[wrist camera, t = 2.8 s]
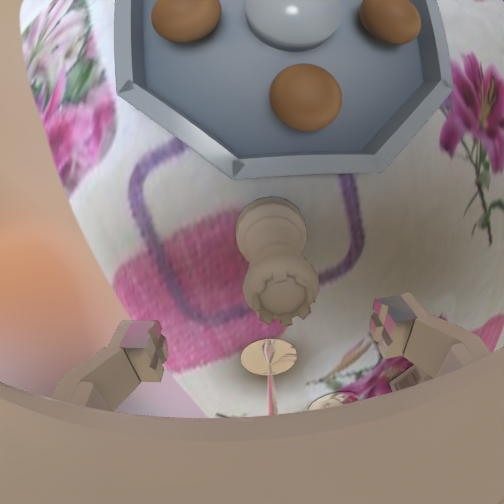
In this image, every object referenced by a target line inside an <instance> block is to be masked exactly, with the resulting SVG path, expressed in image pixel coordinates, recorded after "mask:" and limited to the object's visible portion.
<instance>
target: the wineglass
mask: <svg viewBox="0 0 504 504" xmlns="http://www.w3.org/2000/svg"><path fill="white" fill-rule="evenodd" d="M296 358H297V353H296V350H295V348H294V347H293V346H292V345H291V344H289V343H288V342H286V341H283V340H279V339H263V340H258V341H256V342H254V343H251V344H250V345H248V346H247V347H246V348H245V349H244V350H243V352H242V354H241V362H242V365H243V366H244V367H245V368H246V369H247V370H248V371H250V372H252V373H254V374H258V375H268V415H278V408H277V401H276V393H275V386H274V379H273V375H276V374H280V373H282V372H285V371H287V370H288V369H289V368H291V367H292V366H293V364H294V363H295V362H296Z"/></svg>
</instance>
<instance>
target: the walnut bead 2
mask: <svg viewBox="0 0 504 504" xmlns="http://www.w3.org/2000/svg"><path fill="white" fill-rule="evenodd" d="M269 100H270V105H271V108H272V110H273V112H274V113H275V115H276V116H277V118H278V119H279V120H280V121H281V122H283V123H284V124H285V125H287V126H289V127H290V128H293V129H295V130H299V131H307V132H309V131H316V130H320V129H323V128H325V127H327V126H328V125H330V124H331V123H332V122H333V121H334V120H335V119H336V117H337V116H338V114H339V112H340V110H341V106H342V92H341V89H340V86H339V84H338V82H337V81H336V79H335V78H334V77H333V76H332V75H331V74H330V73H329V72H328V71H326V70H325V69H323V68H321V67H319V66H316V65H313V64H306V63H301V64H294V65H291V66H289V67H287V68H285V69H283V70H282V71H281V72H280V73H278V74H277V76H276V77H275V78H274V80H273V82H272V84H271V87H270V92H269Z"/></svg>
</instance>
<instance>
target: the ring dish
mask: <svg viewBox="0 0 504 504" xmlns="http://www.w3.org/2000/svg"><path fill="white" fill-rule="evenodd" d="M156 1H157V0H115V12H114V56H115V77H116V92H117V95H118V96H120V97H121V98H122V99H124V100H125V101H127V102H128V103H130V104H131V105H133V106H134V107H135V108H137V109H138V110H140V111H141V112H143V113H144V114H145V115H147V116H148V117H150V118H151V119H152V120H154V121H155V122H157V123H158V124H159V125H161V126H162V127H164V128H165V129H166V130H168V131H169V132H170V133H172V134H173V135H174V136H176V137H177V138H179V139H180V140H181V141H183V142H184V143H185V144H187V145H188V146H189V147H191V148H192V149H193V150H195V151H196V152H197V153H199V154H200V155H201V156H203V157H204V158H205V159H206V160H208V161H209V162H210V163H212V164H213V165H214V166H216V167H217V168H218V169H219V170H221V171H222V172H223V173H225V174H226V175H227V176H228V177H230V178H231V179H234V180H237V179H248V178H260V177H274V176H290V175H309V174H339V173H382V172H383V170H384V169H385V168H386V167H387V166H388V165H389V164H390V163H391V162H392V161H393V159H394V158H395V157H396V156H397V155H398V154H399V153H400V152H401V150H402V149H403V148H404V147H405V146H406V145H407V144H408V143H409V141H410V140H411V139H412V138H413V137H414V136H415V135H416V133H417V132H418V131H419V130H420V129H421V128H422V126H423V125H424V124H425V123H426V122H427V121H428V119H429V118H430V117H431V116H432V115H433V114H434V112H435V111H436V110H437V109H438V108H439V106H440V105H441V104H442V103H443V102H444V100H445V99H446V98H447V97H448V96H449V94H450V93H451V92H452V91H453V79H452V71H451V63H450V57H449V51H448V45H447V40H446V35H445V30H444V26H443V22H442V18H441V14H440V10H439V7H438V3H437V0H409V1H410V2H411V3H412V4H413V5H414V6H415V8H416V9H417V11H418V13H419V15H420V18H421V29H420V32H419V34H418V36H417V37H416V38H415V39H414V40H413V41H411V42H409V43H406V44H402V45H393V44H388V43H385V42H382V41H380V40H378V39H377V38H375V37H374V36H372V35H371V34H370V33H369V32H368V31H367V29H366V28H365V27H364V25H363V23H362V21H361V18H360V13H359V12H360V5H361V3H362V1H363V0H219V1H220V4H221V9H222V13H221V18H220V21H219V23H218V25H217V26H216V28H215V29H214V30H213V31H212V32H211V33H210V34H208V35H207V36H206V37H204V38H202V39H200V40H197V41H194V42H190V43H175V42H171V41H168V40H166V39H164V38H163V37H161V36H160V35H159V34H158V33H157V32H156V31H155V29H154V27H153V25H152V21H151V13H152V9H153V7H154V5H155V3H156ZM301 63H306V64H313V65H316V66H319V67H321V68H323V69H325V70H326V71H328V72H329V73H330V74H331V75H332V76H333V77H334V78H335V79H336V81H337V82H338V84H339V86H340V89H341V92H342V106H341V110H340V112H339V114H338V116H337V117H336V119H335V120H334V121H333V122H332V123H331V124H330V125H328V126H327V127H325V128H323V129H320V130H316V131H309V132H307V131H299V130H295V129H293V128H290V127H289V126H287V125H285V124H284V123H283V122H281V121H280V120H279V119H278V118H277V116H276V115H275V113H274V112H273V110H272V108H271V105H270V100H269V92H270V87H271V84H272V82H273V80H274V78H275V77H276V76H277V74H278V73H280V72H281V71H282V70H283V69H285V68H287V67H289V66H291V65H294V64H301Z"/></svg>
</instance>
